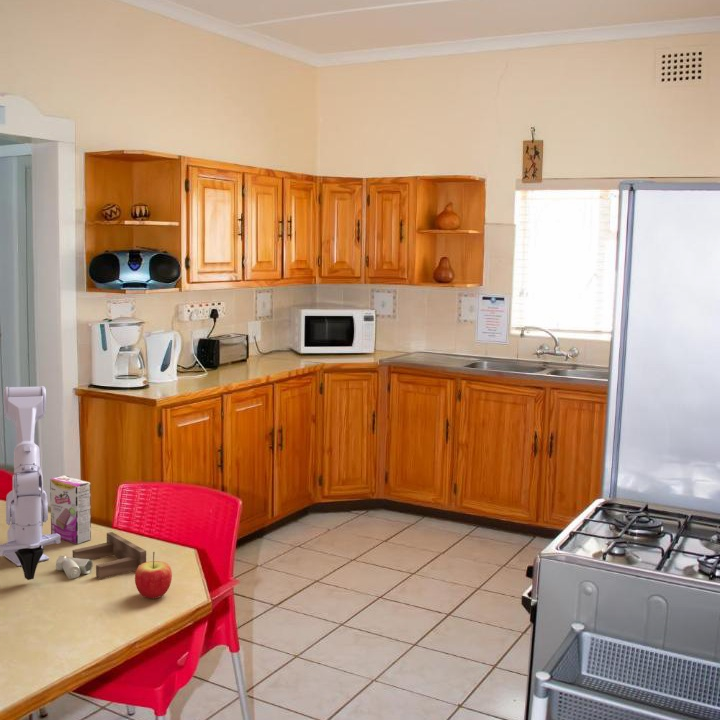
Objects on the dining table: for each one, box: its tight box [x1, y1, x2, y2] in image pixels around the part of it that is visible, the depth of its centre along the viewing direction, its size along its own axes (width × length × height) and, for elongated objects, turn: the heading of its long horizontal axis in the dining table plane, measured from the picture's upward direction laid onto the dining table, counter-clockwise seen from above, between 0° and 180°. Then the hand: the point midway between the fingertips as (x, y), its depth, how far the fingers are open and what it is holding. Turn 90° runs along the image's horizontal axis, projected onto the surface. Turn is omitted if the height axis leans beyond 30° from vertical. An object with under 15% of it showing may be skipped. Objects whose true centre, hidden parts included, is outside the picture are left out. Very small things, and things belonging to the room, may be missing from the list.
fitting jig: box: [71, 531, 147, 580], centre depth 214 cm, size 18×12×5 cm, turn 43°
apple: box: [134, 551, 173, 599], centre depth 195 cm, size 8×8×10 cm
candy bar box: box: [49, 475, 92, 545], centre depth 231 cm, size 11×5×16 cm, turn 58°
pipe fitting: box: [55, 555, 94, 580], centre depth 207 cm, size 8×4×7 cm
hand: (29, 578), depth 200 cm, fingers closed
